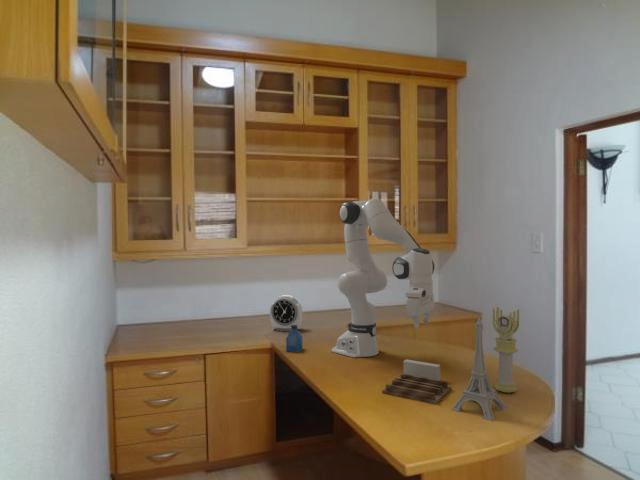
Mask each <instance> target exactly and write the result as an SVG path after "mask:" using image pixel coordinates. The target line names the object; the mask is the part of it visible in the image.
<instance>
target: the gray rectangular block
mask: <svg viewBox="0 0 640 480" xmlns="http://www.w3.org/2000/svg"><path fill="white" fill-rule="evenodd" d="M402 364H403V373H402V374H408V375H413V376H419V377H424V378H430V379H435V380H441V364H437V363H431V362H424V361H419V360H411V359H405V360H403V363H402Z"/></svg>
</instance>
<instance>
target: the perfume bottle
mask: <svg viewBox="0 0 640 480" xmlns="http://www.w3.org/2000/svg"><path fill="white" fill-rule="evenodd" d="M298 330H299V327H298V328H297V325H291V331H289V333H288V334H287V336H286V338H285V339H286V340H285V347H286V348H285V350H286V351H285V352H289V353H290V352H291V353H292V352H293V353H300V351H302V350H303V335H302V333H301V332H300V331H298Z"/></svg>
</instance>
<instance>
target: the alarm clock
mask: <svg viewBox="0 0 640 480" xmlns="http://www.w3.org/2000/svg"><path fill="white" fill-rule="evenodd" d="M269 318H270V320H269V321H270V325H271V328H276V331H277V332H291V325H297V328H298V329H299V328H300V327H301V326H302V323H303V306H302V304H301V302H299V301H298V299H296V298H294V296H293V295H290V294H283V295H280V296H278V297H277V300H275V301H274V302H272V303H271V305H270V307H269Z"/></svg>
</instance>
